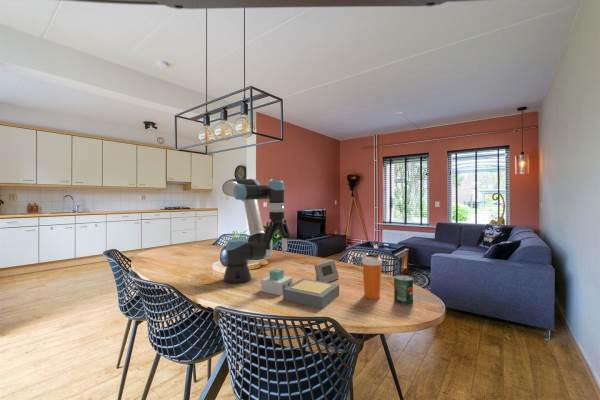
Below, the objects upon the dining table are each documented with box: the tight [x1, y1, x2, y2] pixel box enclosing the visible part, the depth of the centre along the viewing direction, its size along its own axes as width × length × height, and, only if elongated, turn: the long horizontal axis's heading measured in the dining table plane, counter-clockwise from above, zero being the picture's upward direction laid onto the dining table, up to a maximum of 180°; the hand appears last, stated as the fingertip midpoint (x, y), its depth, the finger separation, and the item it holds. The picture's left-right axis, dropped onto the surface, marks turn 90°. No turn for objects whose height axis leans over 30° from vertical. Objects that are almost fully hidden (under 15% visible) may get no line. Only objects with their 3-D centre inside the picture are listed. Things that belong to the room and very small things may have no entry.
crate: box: [269, 268, 285, 281], centre depth 137 cm, size 5×5×4 cm
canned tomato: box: [393, 274, 414, 307], centre depth 120 cm, size 8×8×11 cm
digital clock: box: [314, 259, 340, 283], centre depth 150 cm, size 16×9×11 cm, turn 123°
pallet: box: [260, 275, 293, 296], centre depth 137 cm, size 12×10×6 cm
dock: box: [282, 277, 340, 310], centre depth 126 cm, size 20×18×5 cm
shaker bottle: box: [361, 252, 383, 300], centre depth 127 cm, size 9×9×20 cm
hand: (277, 253), depth 137 cm, fingers open, 13 cm apart
